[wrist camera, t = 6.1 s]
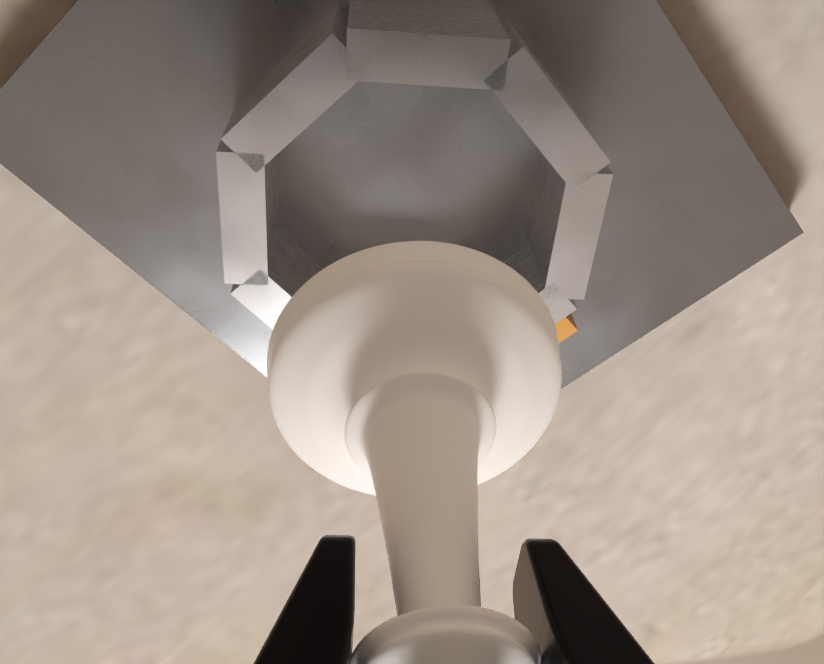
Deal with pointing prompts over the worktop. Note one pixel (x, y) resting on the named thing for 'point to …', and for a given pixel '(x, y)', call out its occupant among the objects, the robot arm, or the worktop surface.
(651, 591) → the worktop surface
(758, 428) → the worktop surface
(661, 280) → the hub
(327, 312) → the chess piece
